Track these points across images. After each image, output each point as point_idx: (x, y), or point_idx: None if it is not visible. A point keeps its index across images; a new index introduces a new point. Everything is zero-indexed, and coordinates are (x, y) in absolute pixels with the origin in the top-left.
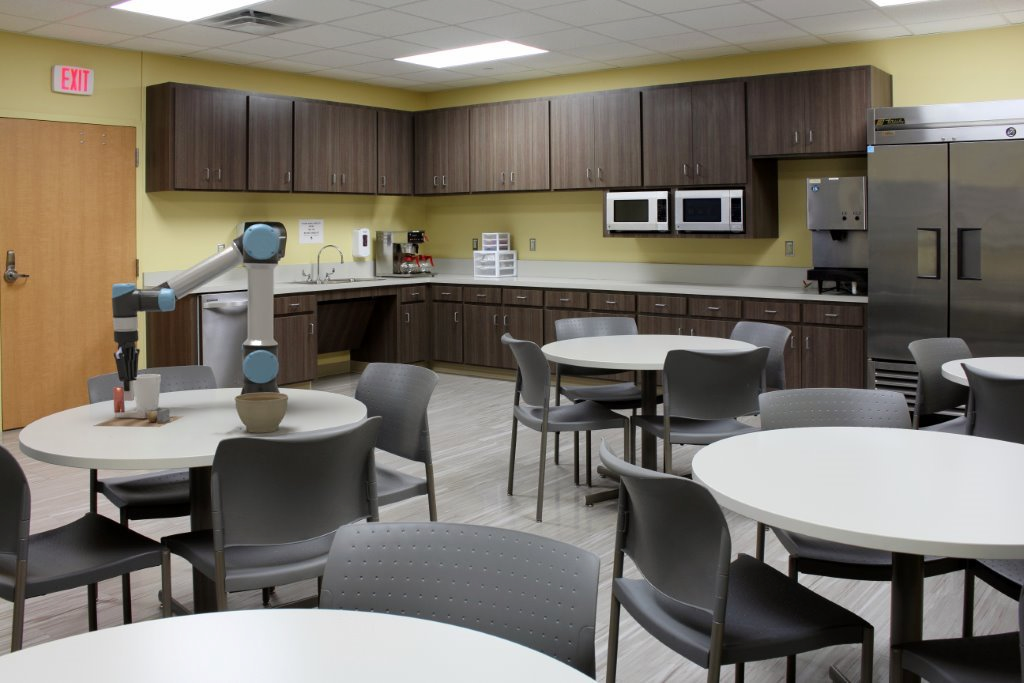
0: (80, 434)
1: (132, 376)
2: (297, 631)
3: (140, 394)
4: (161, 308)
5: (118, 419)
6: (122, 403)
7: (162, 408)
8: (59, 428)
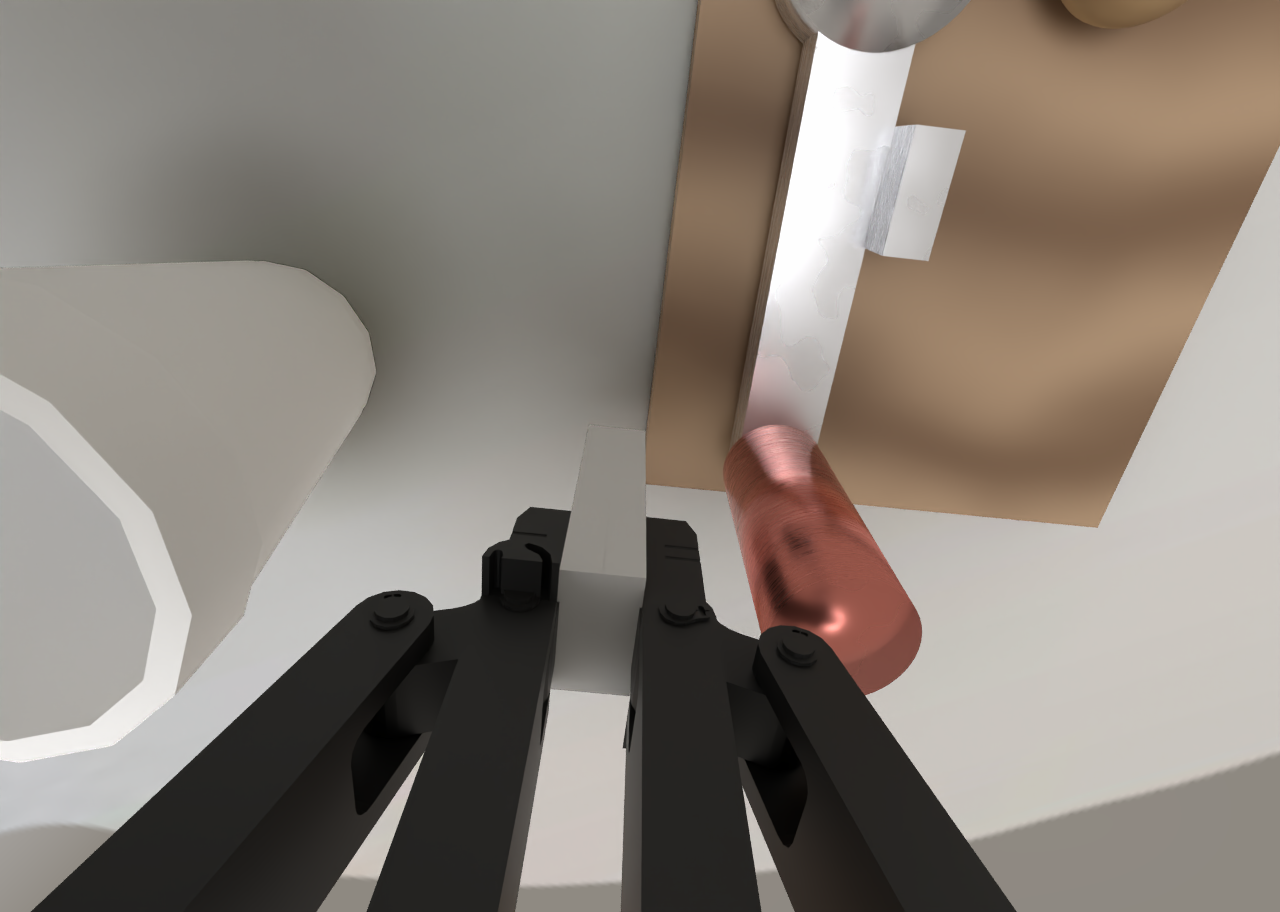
0: (1207, 536)
1: (552, 636)
2: None
3: (306, 458)
4: None
5: (833, 429)
6: (822, 471)
7: None
8: (915, 734)
